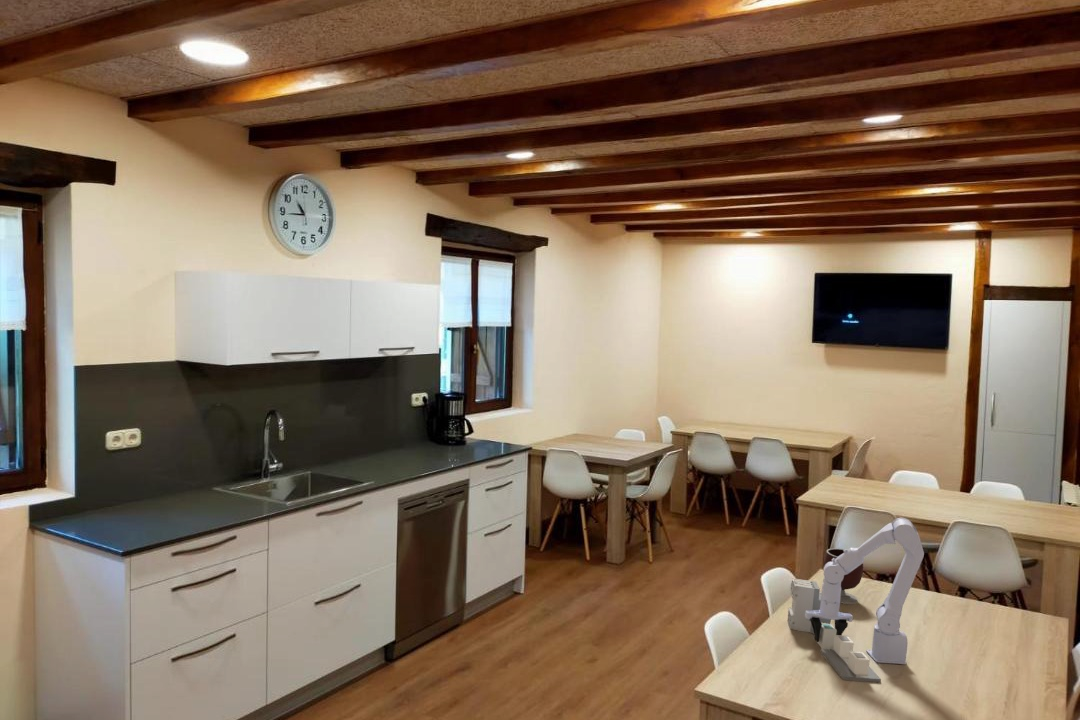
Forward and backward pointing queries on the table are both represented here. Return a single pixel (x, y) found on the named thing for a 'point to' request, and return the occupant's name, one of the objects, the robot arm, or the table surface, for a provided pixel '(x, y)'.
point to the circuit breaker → (804, 604)
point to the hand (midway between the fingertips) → (826, 641)
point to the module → (827, 636)
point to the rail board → (845, 670)
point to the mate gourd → (846, 577)
